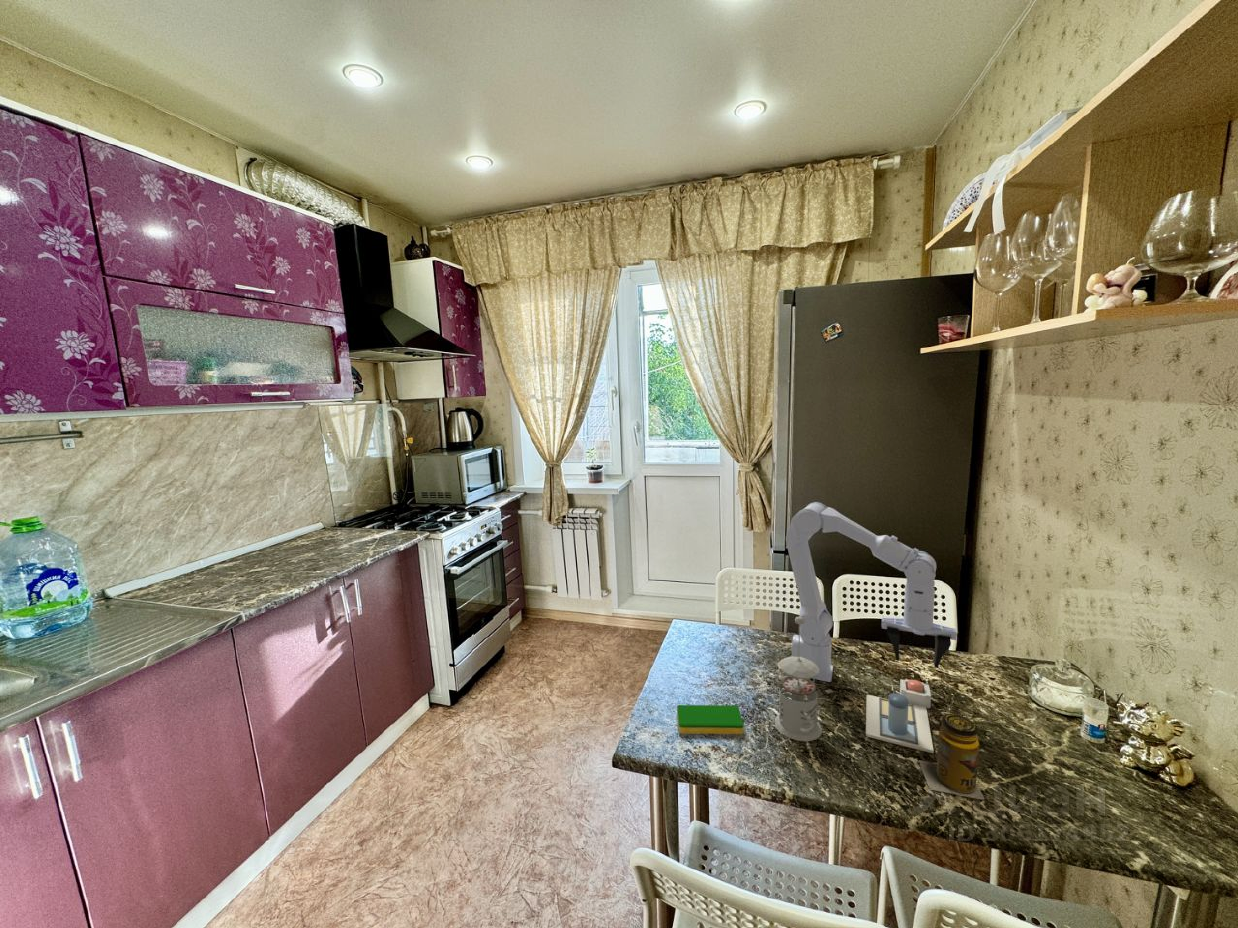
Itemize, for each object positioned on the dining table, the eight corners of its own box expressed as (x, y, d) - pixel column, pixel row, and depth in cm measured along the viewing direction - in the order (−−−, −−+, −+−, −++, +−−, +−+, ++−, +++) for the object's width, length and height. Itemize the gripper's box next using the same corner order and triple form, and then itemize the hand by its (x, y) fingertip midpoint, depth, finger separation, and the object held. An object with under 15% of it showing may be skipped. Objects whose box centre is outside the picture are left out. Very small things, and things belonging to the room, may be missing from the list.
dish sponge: (743, 735, 104) (743, 725, 104) (679, 735, 105) (678, 724, 105) (737, 714, 111) (737, 704, 111) (677, 714, 112) (677, 704, 112)
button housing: (901, 702, 113) (901, 690, 112) (899, 689, 118) (900, 677, 117) (930, 709, 110) (931, 697, 110) (928, 695, 115) (928, 683, 115)
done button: (907, 697, 113) (908, 685, 113) (907, 690, 116) (907, 678, 115) (922, 700, 112) (923, 688, 111) (921, 693, 114) (922, 681, 114)
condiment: (985, 800, 85) (989, 737, 84) (929, 790, 88) (933, 729, 86) (969, 770, 92) (973, 711, 91) (918, 761, 95) (921, 704, 93)
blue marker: (887, 731, 102) (888, 701, 101) (888, 721, 105) (888, 691, 104) (907, 737, 100) (908, 705, 99) (907, 726, 103) (908, 696, 103)
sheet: (865, 736, 102) (866, 732, 102) (866, 696, 115) (866, 693, 115) (933, 753, 97) (933, 749, 97) (926, 710, 110) (926, 706, 110)
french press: (766, 727, 106) (767, 618, 103) (789, 702, 114) (790, 601, 111) (811, 748, 99) (813, 632, 96) (832, 719, 108) (834, 612, 104)
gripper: (883, 607, 110) (881, 663, 112) (960, 618, 104) (956, 678, 106) (882, 596, 117) (880, 649, 118) (955, 606, 110) (951, 662, 112)
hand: (916, 662), depth 112 cm, fingers open, 7 cm apart
